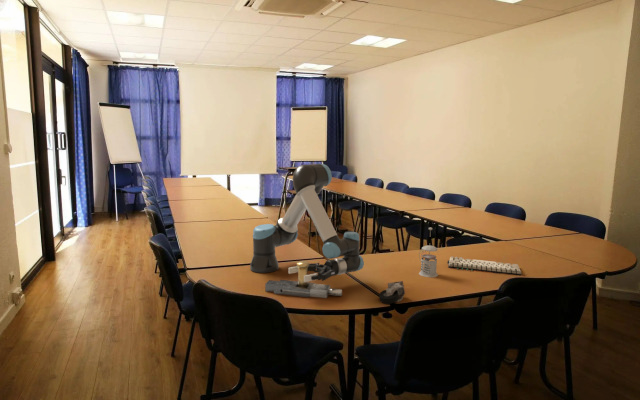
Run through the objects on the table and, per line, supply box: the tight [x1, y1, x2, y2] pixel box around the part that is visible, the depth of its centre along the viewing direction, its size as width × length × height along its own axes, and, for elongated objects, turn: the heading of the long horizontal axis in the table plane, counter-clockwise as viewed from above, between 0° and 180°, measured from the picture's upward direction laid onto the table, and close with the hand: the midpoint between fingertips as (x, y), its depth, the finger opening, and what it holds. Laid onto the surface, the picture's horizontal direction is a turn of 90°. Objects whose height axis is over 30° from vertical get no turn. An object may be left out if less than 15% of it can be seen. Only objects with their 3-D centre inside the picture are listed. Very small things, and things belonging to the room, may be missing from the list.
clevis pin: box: [296, 260, 310, 288], centre depth 186 cm, size 6×6×14 cm
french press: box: [418, 227, 439, 278], centre depth 214 cm, size 10×12×25 cm
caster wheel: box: [378, 280, 406, 305], centre depth 179 cm, size 7×11×10 cm
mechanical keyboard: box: [447, 255, 523, 276], centre depth 228 cm, size 38×19×3 cm, turn 71°
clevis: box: [264, 279, 343, 299], centre depth 187 cm, size 35×9×4 cm, turn 76°
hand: (296, 274), depth 184 cm, fingers open, 13 cm apart
